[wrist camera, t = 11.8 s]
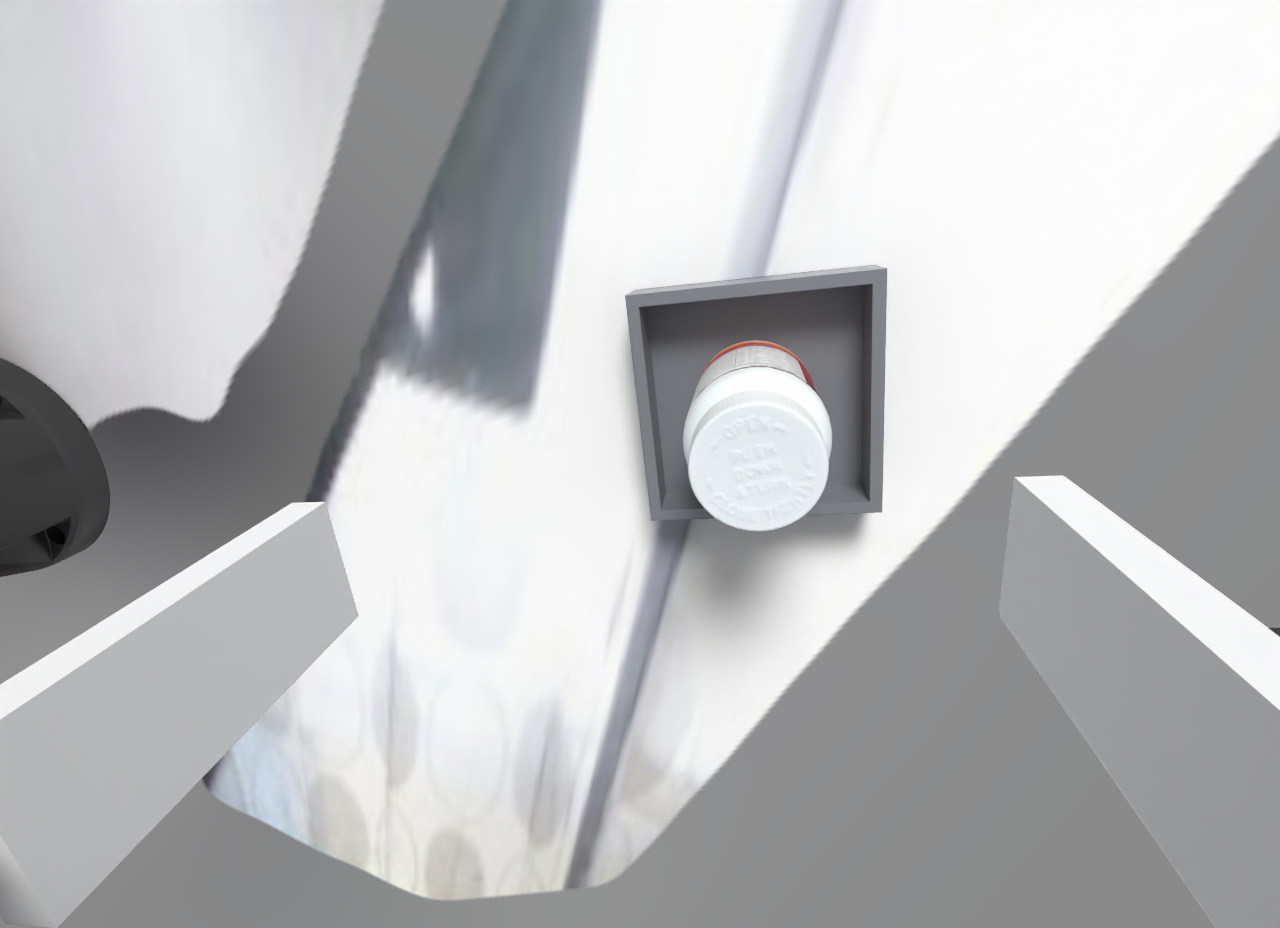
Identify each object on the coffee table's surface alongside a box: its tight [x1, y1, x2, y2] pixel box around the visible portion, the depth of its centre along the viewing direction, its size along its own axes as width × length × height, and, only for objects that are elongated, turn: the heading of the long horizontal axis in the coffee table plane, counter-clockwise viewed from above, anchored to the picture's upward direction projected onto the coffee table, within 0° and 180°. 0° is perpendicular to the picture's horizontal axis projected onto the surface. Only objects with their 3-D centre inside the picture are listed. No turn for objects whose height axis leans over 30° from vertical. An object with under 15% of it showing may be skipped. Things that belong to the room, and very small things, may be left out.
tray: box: [625, 265, 887, 521], centre depth 32 cm, size 12×12×3 cm
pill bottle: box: [683, 340, 832, 531], centre depth 28 cm, size 6×6×11 cm
